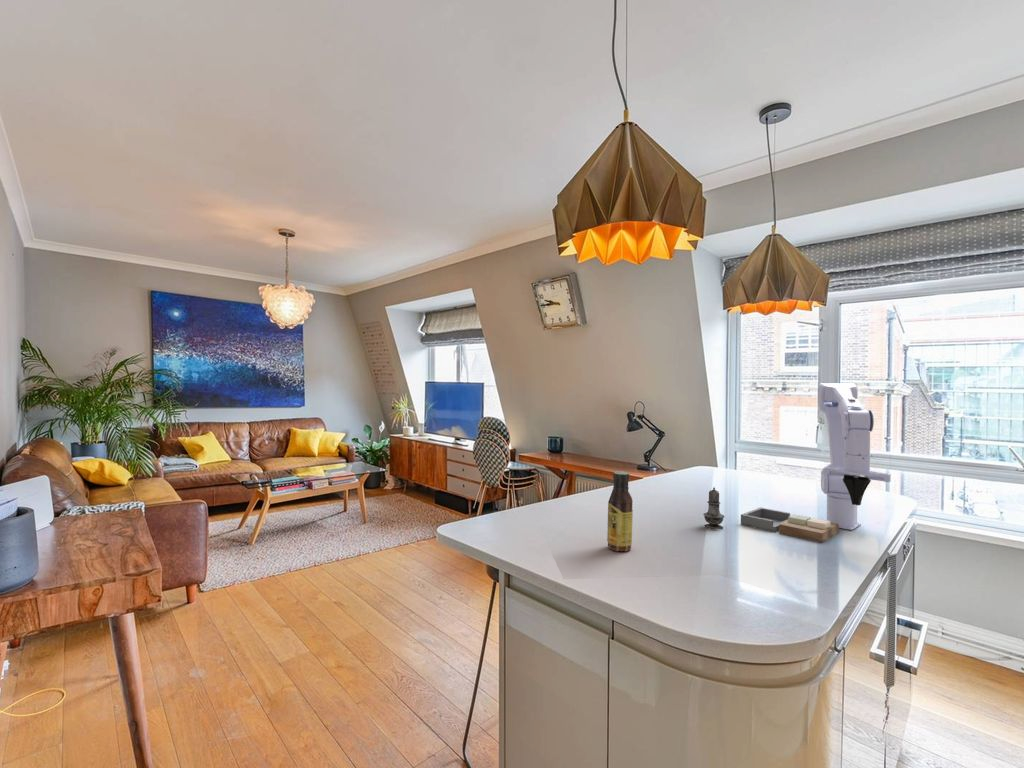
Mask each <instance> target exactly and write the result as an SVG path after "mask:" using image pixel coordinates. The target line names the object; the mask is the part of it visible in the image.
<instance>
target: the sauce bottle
mask: <svg viewBox="0 0 1024 768" xmlns="http://www.w3.org/2000/svg"><path fill="white" fill-rule="evenodd" d="M612 477H613V478H612V479H613V488H612V491H611V493H610V497H609V499H608V503H607V506H608V507H607V535H606V536H607V538H606V539H607V548H608V549H609V550H612V551H613V550H614V551H613V552H618V551H621V553H623V552H622V551H625V552H629V551H631V549H632V544H633V515H634V514H633V513H634V512H633V511H634V510H633V497H632V495H631V494H630V491H629V488H630V487H629V480H630V472H628V471H623V470H619V471H613V473H612ZM628 550H629V551H628Z"/></svg>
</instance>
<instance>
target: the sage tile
mask: <svg viewBox="0 0 1024 768" xmlns="http://www.w3.org/2000/svg"><path fill="white" fill-rule="evenodd" d="M809 519H812V518H811V517H810V516H804V515H800V514H796V513H795V514H791V515H790V516H789V517H788V522H791V523H796V524H801V525H807V520H809Z"/></svg>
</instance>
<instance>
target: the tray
mask: <svg viewBox="0 0 1024 768" xmlns="http://www.w3.org/2000/svg"><path fill="white" fill-rule="evenodd" d="M789 516H791V513H790V512H785V511H781V510H775V509H771V508H770V509H769V508H765V507H757V508H755V509H752V510H750V511H747V512H745V513H742V514H740V525H741V526H745V525H746V527H751V528H754V527H755V529H759V530H763V529H764V530H763V531H768V530H769V532H772V531H774V532H773V533H777V532H779V524H781V523H783V522H785V521H788V517H789ZM776 531H777V532H776Z"/></svg>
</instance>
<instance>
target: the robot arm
mask: <svg viewBox="0 0 1024 768" xmlns="http://www.w3.org/2000/svg"><path fill="white" fill-rule="evenodd" d="M858 394H859V393H858V386H857V385H856V384H855V383H854V382H852V383H823V382H820V384H818V388H817V401H818V402H817V403H818V408H819V411H820V412H822V413H824V414H825V416H826V420H827V431H828V442H829V443H828V445H829V446H828V447H829V456H830V463H829V464H828V465H826V466H824V467H823V468H822V470H821V471H820V472H821V473H820V475H821V476H820V488H821V489H820V490H821V491H822V493H823V494H825V495H826V520H827V521H830V522H831V523H836V524H839V529H844V530H849V531H853V530H855V529H857V528H858V527H859V526H861V525H862V523H861V522H858V507H859V506H861V505H862V500H863V497H864V494H865V492H866V490H867V488H868V486H869V485H870V483H871V482H872V481H880V482H885V483H890V482H891V478H892V477H891V473H885V472H877V471H873V470H871V469H870V467H871V466H870V465H871V463H870V462H871V432H872V431H873V429H874V426H875V425H874V423H875V421H874V420H875V419H874V414H873V411H872V410H871V409H865V408H864V407H863V405H862V403H861V402H860V401H859V400H858Z"/></svg>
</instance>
